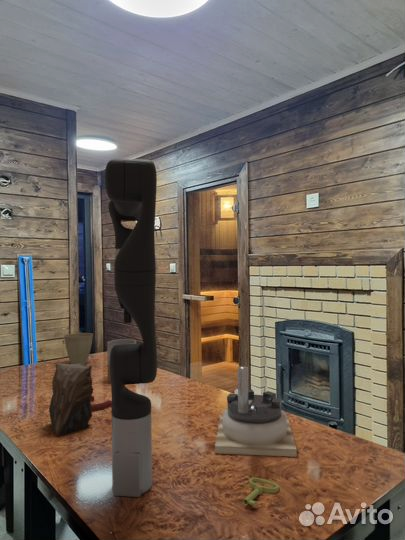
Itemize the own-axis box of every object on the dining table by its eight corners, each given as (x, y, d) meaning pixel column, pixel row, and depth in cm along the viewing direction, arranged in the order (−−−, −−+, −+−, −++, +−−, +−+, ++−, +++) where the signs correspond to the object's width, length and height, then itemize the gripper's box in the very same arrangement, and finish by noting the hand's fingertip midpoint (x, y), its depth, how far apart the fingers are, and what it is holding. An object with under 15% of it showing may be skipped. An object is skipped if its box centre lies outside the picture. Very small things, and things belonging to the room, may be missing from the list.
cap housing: (290, 446, 108) (290, 428, 108) (220, 443, 110) (220, 425, 110) (283, 419, 127) (283, 404, 127) (224, 418, 129) (224, 402, 129)
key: (242, 510, 84) (242, 500, 84) (250, 480, 96) (250, 471, 96) (277, 515, 82) (277, 505, 82) (280, 484, 94) (280, 475, 94)
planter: (139, 382, 177) (138, 343, 177) (110, 386, 172) (109, 345, 172) (133, 375, 189) (132, 338, 189) (105, 378, 184) (105, 340, 184)
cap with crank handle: (291, 411, 119) (291, 356, 119) (252, 433, 103) (252, 370, 103) (247, 400, 130) (247, 349, 130) (206, 418, 114) (205, 361, 114)
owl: (48, 423, 131) (47, 363, 131) (87, 416, 137) (86, 358, 137) (54, 437, 120) (53, 371, 120) (96, 428, 126) (95, 366, 126)
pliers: (43, 418, 137) (43, 410, 137) (91, 401, 154) (91, 394, 154) (66, 426, 130) (66, 417, 130) (113, 407, 148) (113, 399, 148)
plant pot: (96, 365, 210) (96, 335, 210) (68, 369, 202) (67, 338, 202) (88, 360, 222) (88, 331, 222) (61, 363, 215) (61, 334, 214)
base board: (296, 456, 106) (296, 449, 106) (215, 453, 109) (214, 446, 109) (288, 424, 128) (288, 418, 128) (220, 422, 131) (220, 416, 131)
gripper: (133, 264, 110) (134, 326, 110) (145, 264, 123) (146, 320, 124) (107, 264, 111) (108, 326, 111) (122, 264, 124) (122, 319, 124)
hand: (128, 322), depth 117 cm, fingers closed
